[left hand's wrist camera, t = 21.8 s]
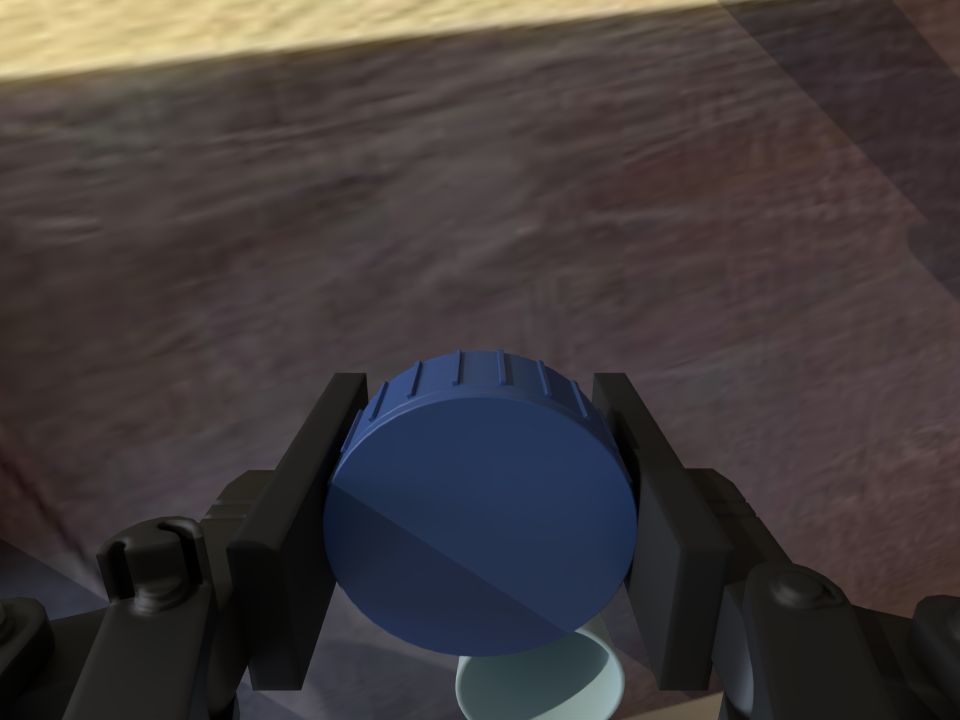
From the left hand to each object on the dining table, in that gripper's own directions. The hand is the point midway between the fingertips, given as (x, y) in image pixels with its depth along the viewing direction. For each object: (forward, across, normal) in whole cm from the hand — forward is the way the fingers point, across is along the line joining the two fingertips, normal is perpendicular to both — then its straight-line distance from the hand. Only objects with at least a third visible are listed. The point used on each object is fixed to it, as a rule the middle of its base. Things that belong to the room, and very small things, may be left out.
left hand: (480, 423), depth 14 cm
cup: (+17, +3, -16) cm, 24 cm away
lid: (-4, 0, 0) cm, 4 cm away
